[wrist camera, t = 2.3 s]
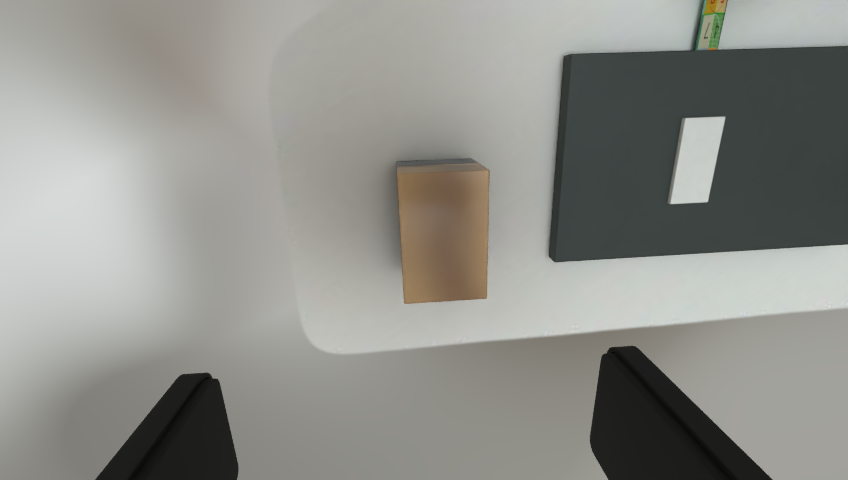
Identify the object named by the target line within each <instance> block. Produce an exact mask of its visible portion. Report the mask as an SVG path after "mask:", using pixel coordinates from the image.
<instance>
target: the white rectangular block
mask: <svg viewBox="0 0 848 480" xmlns="http://www.w3.org/2000/svg"><path fill="white" fill-rule="evenodd" d="M724 122H725V116H719V117H694V118H682V122H681V128H680V133H679V139H678V145H677V151H676V156H675V162H674V168H673V174H672V179H671V185H670V191H669V197H668V202H667V203H669V204H683V203H702V202H708V199H709V194H710V189H711V184H712V179H713V175H714V170H715V165H716V160H717V155H718V151H719V146H720V141H721V136H722V131H723V127H724Z"/></svg>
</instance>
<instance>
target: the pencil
mask: <svg viewBox="0 0 848 480" xmlns="http://www.w3.org/2000/svg"><path fill="white" fill-rule="evenodd" d="M727 1H728V0H704V4H703V9H702V14H701V19H700V24H699V30H698V35H697V40H696V45H695V50H694V51H696V50H717V49H718V44H719V39H720V34H721V29H722V25H723V20H724V15H725V10H726V6H727Z"/></svg>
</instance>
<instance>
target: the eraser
mask: <svg viewBox="0 0 848 480" xmlns="http://www.w3.org/2000/svg"><path fill="white" fill-rule="evenodd" d="M396 167H397V184H398V202H399V220H400V238H401V255H402V273H403V291H404V303H405V304H410V303H426V302H441V301H456V300H471V299H486V298H487V263H488V215H489V170H488V169H487V168H485V167H484V166H482V165H481V164H479V163H478V162H476V161H475V160H473V159H471V158H467V159H444V160H422V161H399V162H397V163H396Z"/></svg>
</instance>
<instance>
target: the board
mask: <svg viewBox="0 0 848 480" xmlns="http://www.w3.org/2000/svg"><path fill="white" fill-rule="evenodd" d="M719 116H725V122H724V127H723V131H722V136H721V141H720V146H719V151H718V155H717V160H716V165H715V170H714V175H713V179H712V184H711V189H710V194H709V199H708V202H702V203H683V204H669V203H667V202H668V197H669V191H670V185H671V179H672V174H673V168H674V162H675V156H676V151H677V145H678V139H679V133H680V128H681V122H682V118H694V117H719ZM845 244H848V46H836V47H801V48H766V49H731V50H696V51H660V52H625V53H590V54H570V55H567V56H564V66H563V79H562V92H561V105H560V119H559V132H558V145H557V158H556V171H555V184H554V198H553V211H552V224H551V237H550V250H549V257H550V258H551V259H552V260H553V261H554V262H566V261H583V260H599V259H616V258H632V257H648V256H665V255H681V254H698V253H714V252H730V251H747V250H763V249H780V248H796V247H813V246H829V245H845Z"/></svg>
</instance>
